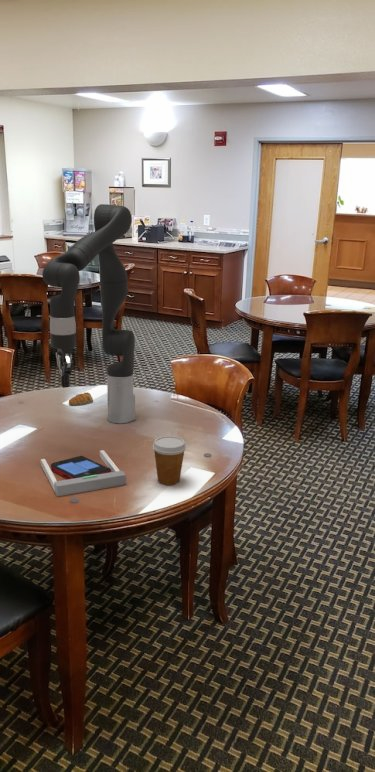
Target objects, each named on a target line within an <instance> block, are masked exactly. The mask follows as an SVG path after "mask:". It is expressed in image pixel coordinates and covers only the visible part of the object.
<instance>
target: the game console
mask: <svg viewBox="0 0 375 772" xmlns="http://www.w3.org/2000/svg"><path fill="white" fill-rule="evenodd" d="M50 469H51V471H52V473H53V472H54V473H55V474H57V475H59V476H61V477H63V478H64V479H65V480H68V479H74V478H80V477H85V476H91V475H98V474H104V473H110V472H111V469H110V468H108V467H107V466H105V465H103V464H101V463H98V462H97V461H95V460H92V459H90V458H88V457H87V456H84V455H78V456H74V457H70V458H66V459H62V460H58V461H54V462H52V463H51V464H50Z"/></svg>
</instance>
